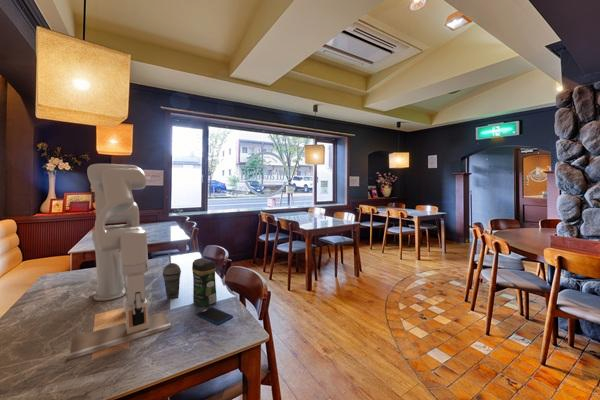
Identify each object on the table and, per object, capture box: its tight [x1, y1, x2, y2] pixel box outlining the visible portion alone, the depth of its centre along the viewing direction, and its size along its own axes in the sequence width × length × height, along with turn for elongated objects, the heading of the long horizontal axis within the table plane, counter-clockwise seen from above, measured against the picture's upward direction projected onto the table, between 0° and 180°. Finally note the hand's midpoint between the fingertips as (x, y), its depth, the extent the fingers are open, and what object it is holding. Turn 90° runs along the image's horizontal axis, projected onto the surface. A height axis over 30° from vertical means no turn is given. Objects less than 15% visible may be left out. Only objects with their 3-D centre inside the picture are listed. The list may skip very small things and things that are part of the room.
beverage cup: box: [162, 253, 182, 301], centre depth 113 cm, size 7×7×20 cm
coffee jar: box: [191, 257, 218, 308], centre depth 109 cm, size 10×8×19 cm
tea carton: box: [125, 297, 149, 334], centre depth 87 cm, size 4×6×9 cm
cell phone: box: [195, 306, 234, 326], centre depth 98 cm, size 7×14×1 cm, turn 55°
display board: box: [68, 312, 172, 360], centre depth 85 cm, size 26×13×2 cm, turn 128°
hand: (137, 319), depth 87 cm, fingers open, 5 cm apart
